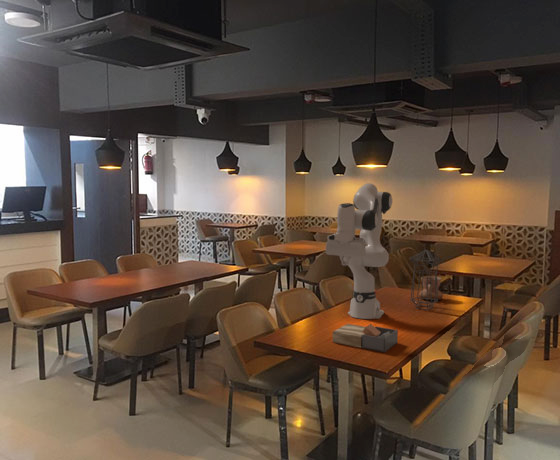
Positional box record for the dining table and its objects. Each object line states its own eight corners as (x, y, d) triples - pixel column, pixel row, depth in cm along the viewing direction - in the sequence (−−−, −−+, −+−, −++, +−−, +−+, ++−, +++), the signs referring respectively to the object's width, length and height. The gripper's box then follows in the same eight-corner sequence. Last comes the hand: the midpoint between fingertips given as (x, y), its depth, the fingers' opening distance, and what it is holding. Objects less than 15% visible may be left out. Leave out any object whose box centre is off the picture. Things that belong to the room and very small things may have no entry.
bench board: (347, 333, 238) (347, 323, 238) (374, 338, 230) (374, 328, 230) (332, 342, 225) (332, 331, 224) (360, 347, 217) (361, 336, 217)
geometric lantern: (406, 308, 292) (408, 249, 290) (417, 304, 304) (419, 248, 302) (432, 312, 282) (434, 251, 280) (442, 307, 294) (444, 249, 292)
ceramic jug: (421, 295, 327) (421, 274, 325) (444, 297, 321) (444, 276, 319) (416, 301, 310) (417, 279, 309) (440, 303, 304) (441, 281, 303)
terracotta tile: (367, 328, 226) (370, 323, 225) (377, 337, 223) (381, 332, 222) (362, 331, 221) (365, 326, 220) (372, 340, 218) (376, 336, 217)
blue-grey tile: (388, 331, 221) (392, 337, 220) (378, 336, 224) (381, 342, 223) (384, 334, 216) (387, 340, 215) (373, 339, 219) (376, 346, 218)
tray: (375, 338, 230) (375, 326, 230) (397, 342, 224) (397, 330, 224) (361, 347, 217) (361, 334, 216) (384, 352, 211) (385, 338, 211)
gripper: (368, 237, 234) (367, 266, 236) (330, 235, 245) (329, 262, 247) (363, 238, 229) (362, 268, 230) (324, 236, 240) (323, 264, 241)
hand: (345, 265), depth 238 cm, fingers closed
